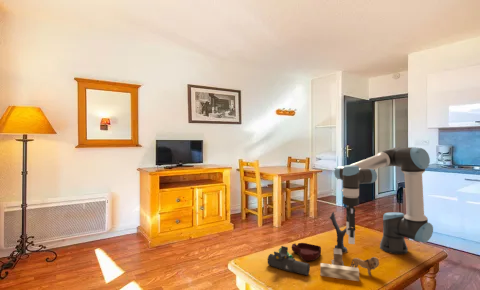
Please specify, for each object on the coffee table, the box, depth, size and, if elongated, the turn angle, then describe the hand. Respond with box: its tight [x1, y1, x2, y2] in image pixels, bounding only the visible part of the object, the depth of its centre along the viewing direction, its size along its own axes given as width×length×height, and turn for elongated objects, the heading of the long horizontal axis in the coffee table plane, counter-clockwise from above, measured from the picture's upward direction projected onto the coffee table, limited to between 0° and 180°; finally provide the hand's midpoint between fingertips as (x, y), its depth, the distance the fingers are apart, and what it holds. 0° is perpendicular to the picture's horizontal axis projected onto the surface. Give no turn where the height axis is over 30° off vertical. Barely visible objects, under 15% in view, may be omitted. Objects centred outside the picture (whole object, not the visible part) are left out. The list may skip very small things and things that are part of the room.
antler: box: [329, 211, 348, 254], centre depth 166 cm, size 12×8×25 cm
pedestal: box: [331, 247, 345, 266], centre depth 146 cm, size 6×9×8 cm, turn 163°
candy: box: [278, 247, 295, 259], centre depth 158 cm, size 12×3×4 cm
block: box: [319, 262, 360, 282], centre depth 135 cm, size 18×4×5 cm, turn 72°
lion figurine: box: [349, 256, 380, 277], centre depth 139 cm, size 15×5×9 cm, turn 62°
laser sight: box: [267, 245, 311, 276], centre depth 142 cm, size 10×22×10 cm, turn 57°
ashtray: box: [291, 242, 322, 263], centre depth 160 cm, size 18×16×5 cm
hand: (350, 238), depth 134 cm, fingers open, 13 cm apart
